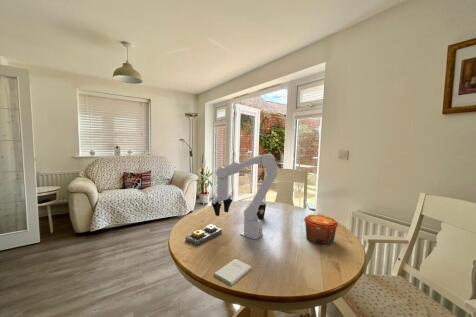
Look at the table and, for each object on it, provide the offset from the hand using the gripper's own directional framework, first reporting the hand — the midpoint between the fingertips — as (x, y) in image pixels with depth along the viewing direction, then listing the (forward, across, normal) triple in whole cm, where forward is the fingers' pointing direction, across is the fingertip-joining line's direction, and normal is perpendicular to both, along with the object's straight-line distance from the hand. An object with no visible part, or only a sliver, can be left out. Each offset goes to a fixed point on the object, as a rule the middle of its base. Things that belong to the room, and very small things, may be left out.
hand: (221, 213), depth 112 cm
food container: (+10, -23, +46) cm, 52 cm away
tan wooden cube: (+10, +16, -2) cm, 18 cm away
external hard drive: (+10, +25, +27) cm, 38 cm away
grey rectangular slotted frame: (+9, +11, -2) cm, 15 cm away
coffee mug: (+10, -30, +5) cm, 32 cm away
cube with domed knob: (+10, +6, -2) cm, 12 cm away
